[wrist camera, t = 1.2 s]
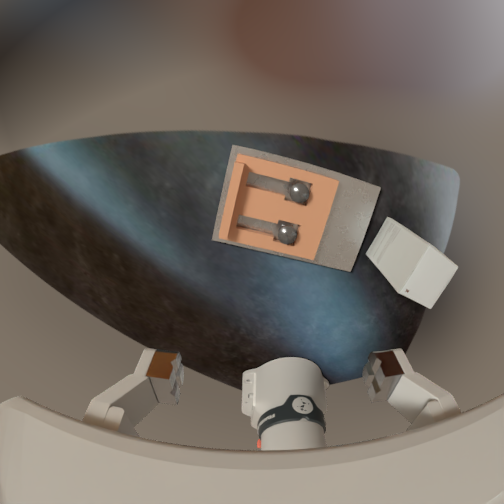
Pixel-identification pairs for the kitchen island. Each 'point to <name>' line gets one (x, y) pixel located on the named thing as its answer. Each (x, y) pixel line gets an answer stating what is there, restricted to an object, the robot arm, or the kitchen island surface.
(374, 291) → the kitchen island surface
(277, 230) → the boss plate
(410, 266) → the supplement box
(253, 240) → the panel
